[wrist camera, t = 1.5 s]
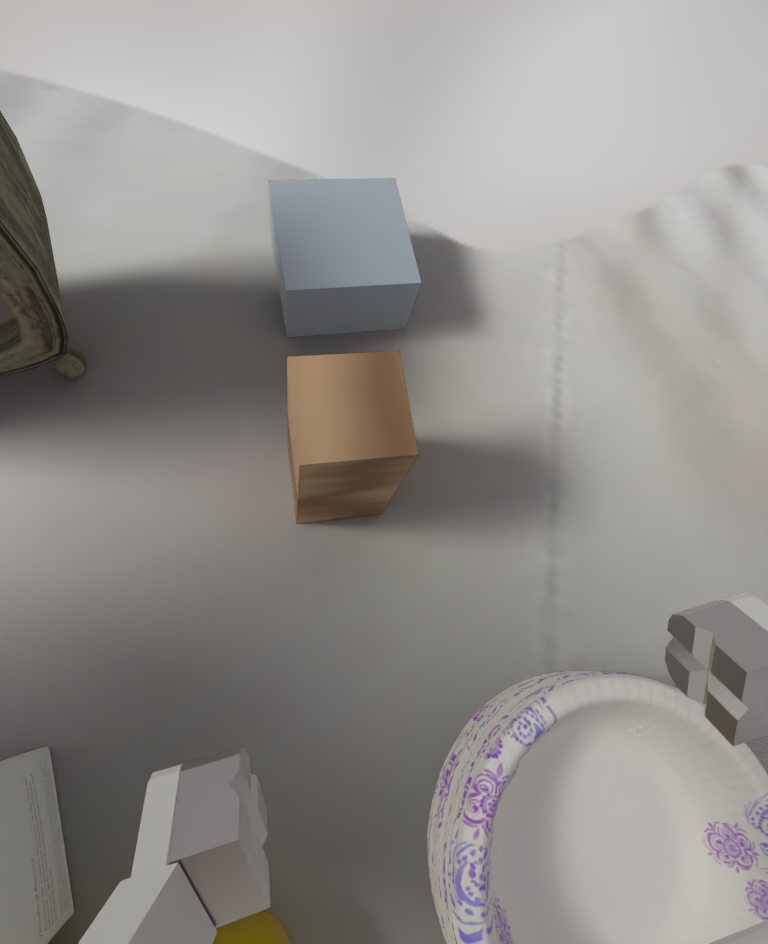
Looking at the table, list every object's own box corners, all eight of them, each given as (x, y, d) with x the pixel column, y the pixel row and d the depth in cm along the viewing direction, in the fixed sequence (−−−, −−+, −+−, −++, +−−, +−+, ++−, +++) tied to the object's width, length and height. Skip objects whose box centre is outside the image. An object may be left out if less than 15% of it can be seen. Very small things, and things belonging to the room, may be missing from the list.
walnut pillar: (296, 523, 31) (299, 465, 22) (287, 443, 33) (287, 356, 24) (381, 514, 32) (418, 454, 23) (369, 436, 34) (399, 351, 25)
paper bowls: (728, 959, 28) (888, 1067, 20) (443, 1056, 25) (510, 1226, 17) (637, 648, 32) (740, 644, 25) (387, 697, 29) (420, 708, 22)
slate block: (286, 339, 35) (286, 290, 31) (270, 239, 38) (268, 180, 33) (404, 330, 37) (421, 282, 32) (382, 235, 39) (395, 178, 35)
